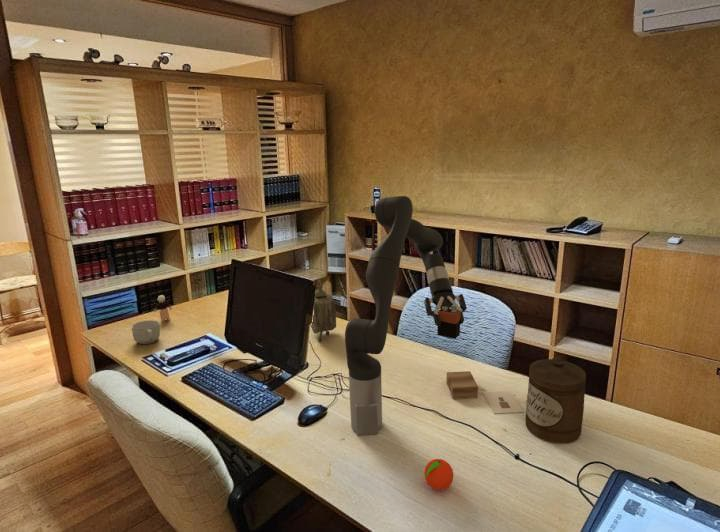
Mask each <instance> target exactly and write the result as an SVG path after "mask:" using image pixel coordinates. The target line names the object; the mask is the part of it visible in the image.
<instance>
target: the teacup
mask: <svg viewBox="0 0 720 532" xmlns="http://www.w3.org/2000/svg"><path fill="white" fill-rule="evenodd" d="M130 327H131V331H132V338H133V341H135V342H136V343H139V344H141V345H149V344H154V342H156V341H157V340H158V339H159V338H160V335H161V332H160V331H161V329H160V322H159V321H158V320H154V319H149V320H142V321H137V322H135V323H133V324H132V325H131V326H130Z"/></svg>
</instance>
